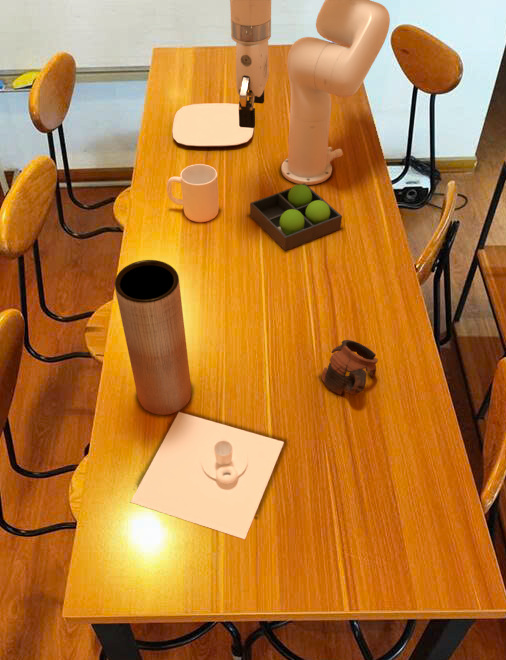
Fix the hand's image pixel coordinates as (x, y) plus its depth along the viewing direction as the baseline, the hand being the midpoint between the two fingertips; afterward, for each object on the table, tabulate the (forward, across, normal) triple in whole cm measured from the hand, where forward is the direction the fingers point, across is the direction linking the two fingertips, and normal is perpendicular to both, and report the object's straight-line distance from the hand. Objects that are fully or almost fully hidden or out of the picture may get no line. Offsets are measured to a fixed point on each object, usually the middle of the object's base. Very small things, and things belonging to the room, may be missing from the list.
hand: (251, 114), depth 142 cm
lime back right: (+22, -1, -15) cm, 26 cm away
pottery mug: (+25, -47, -28) cm, 60 cm away
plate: (+25, +35, +18) cm, 47 cm away
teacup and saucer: (+24, -72, -7) cm, 76 cm away
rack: (+25, -1, -10) cm, 27 cm away
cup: (+25, -2, +14) cm, 29 cm away
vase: (+24, -57, +5) cm, 62 cm away
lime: (+21, -6, -10) cm, 24 cm away
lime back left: (+22, +4, -10) cm, 24 cm away
